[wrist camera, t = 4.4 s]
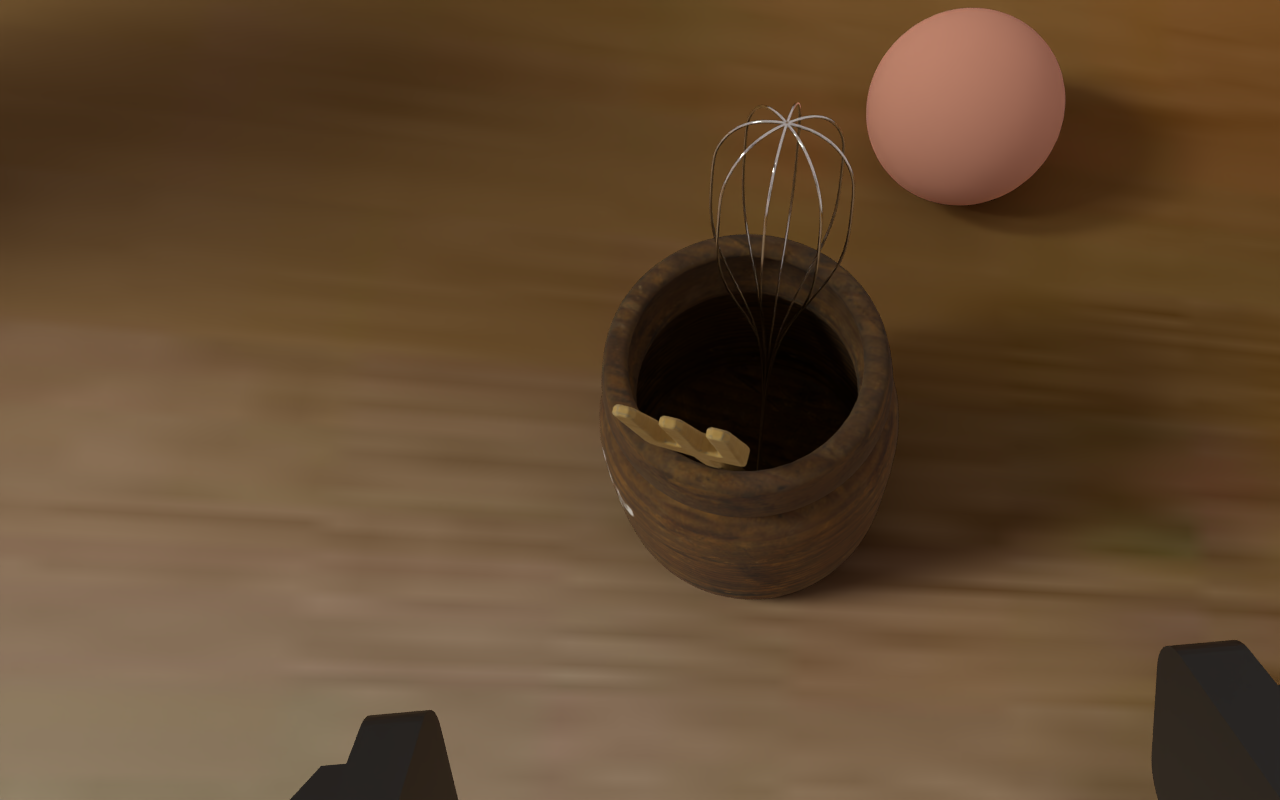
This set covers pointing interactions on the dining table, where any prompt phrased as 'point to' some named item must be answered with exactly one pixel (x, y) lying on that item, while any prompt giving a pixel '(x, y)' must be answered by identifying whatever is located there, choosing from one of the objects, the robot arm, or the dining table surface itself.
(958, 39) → the ball
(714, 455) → the utensil holder
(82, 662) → the dining table surface
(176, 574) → the dining table surface
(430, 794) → the robot arm
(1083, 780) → the dining table surface
